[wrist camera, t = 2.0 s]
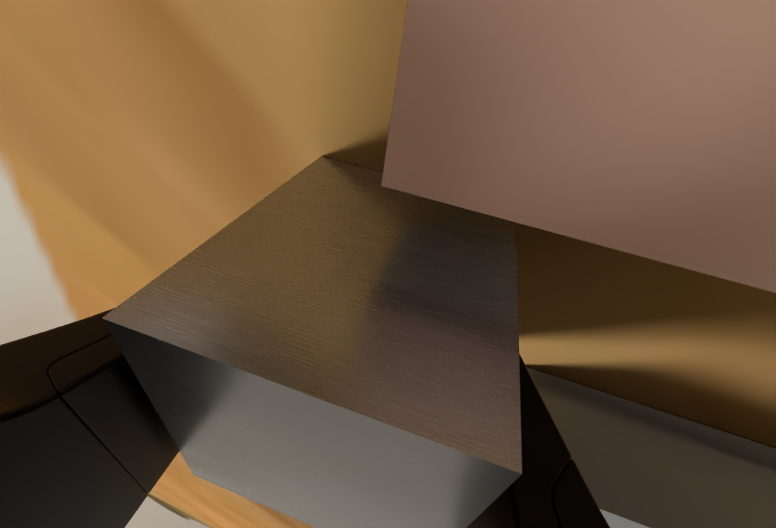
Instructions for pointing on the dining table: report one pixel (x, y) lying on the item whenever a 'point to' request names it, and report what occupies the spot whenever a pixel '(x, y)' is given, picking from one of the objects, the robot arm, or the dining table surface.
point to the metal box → (340, 354)
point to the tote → (660, 463)
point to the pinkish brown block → (598, 123)
